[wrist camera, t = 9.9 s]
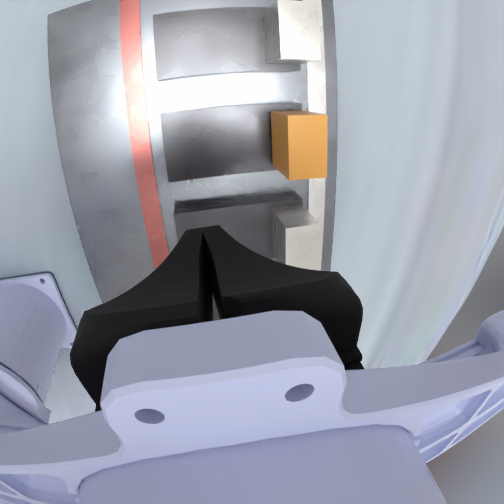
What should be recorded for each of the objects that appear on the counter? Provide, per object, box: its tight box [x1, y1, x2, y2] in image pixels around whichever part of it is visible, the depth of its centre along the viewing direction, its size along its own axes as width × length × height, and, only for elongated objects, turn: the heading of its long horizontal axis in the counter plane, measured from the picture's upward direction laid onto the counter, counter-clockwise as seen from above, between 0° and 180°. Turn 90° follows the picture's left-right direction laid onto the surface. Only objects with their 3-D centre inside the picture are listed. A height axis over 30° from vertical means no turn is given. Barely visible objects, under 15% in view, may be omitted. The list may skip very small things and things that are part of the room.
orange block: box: [271, 110, 328, 180], centre depth 16 cm, size 2×3×3 cm, turn 3°
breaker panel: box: [48, 0, 337, 321], centre depth 17 cm, size 18×25×6 cm
